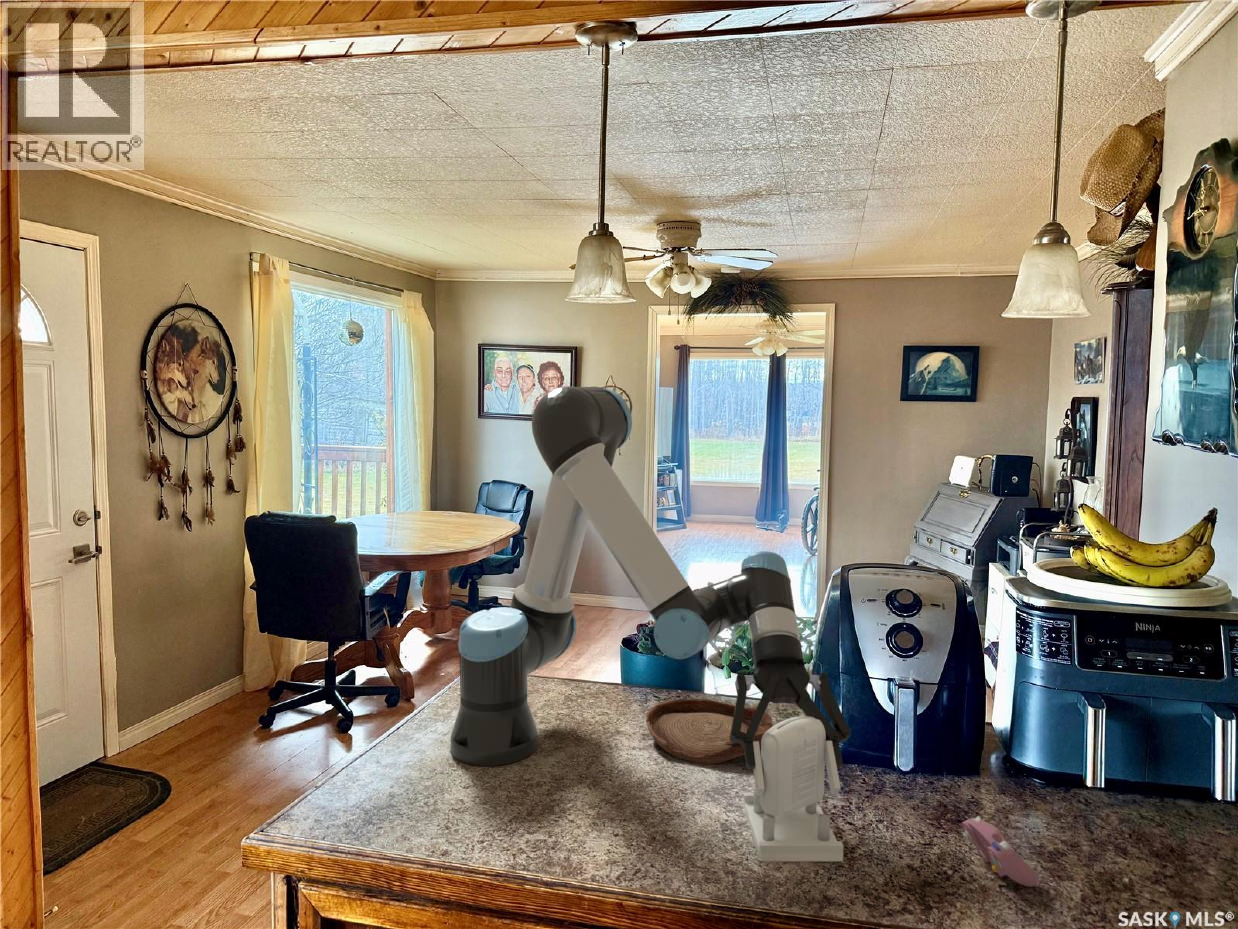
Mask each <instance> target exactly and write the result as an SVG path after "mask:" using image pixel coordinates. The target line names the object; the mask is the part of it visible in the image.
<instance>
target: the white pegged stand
mask: <svg viewBox="0 0 1238 929" xmlns="http://www.w3.org/2000/svg"><path fill="white" fill-rule="evenodd" d="M742 799H743V801H742V802H743V803H742V804H743V806H742V807H743V810H744V813H745V816H746V817H745V818H746V819H747V823H748V826H749V828H750V831H751V835H752V838H753V842H754V845H755V848H756V851H757V855H758V858H759V861H760V862H844V844H843V842H842V841H841V840H839V841H838V839H837V838H836V836H835V833H834V832H833V830H832V828H831V816H830V815H828V814H825V813H824V811H823V810H822V808H821V805H820V803H819V801H818V802H816V803H813V804H811V805H808V806H806V807H803V808H801V809H798V810H796V811H793V812H790V813H788V814H785V815H781V816H772V815H769V814H767V813H765V812H764V811H763V809H762V806H761V805H760V795H756V788H755V789H754V790H753V791H752V792H750V791H749V792H743V796H742Z"/></svg>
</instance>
